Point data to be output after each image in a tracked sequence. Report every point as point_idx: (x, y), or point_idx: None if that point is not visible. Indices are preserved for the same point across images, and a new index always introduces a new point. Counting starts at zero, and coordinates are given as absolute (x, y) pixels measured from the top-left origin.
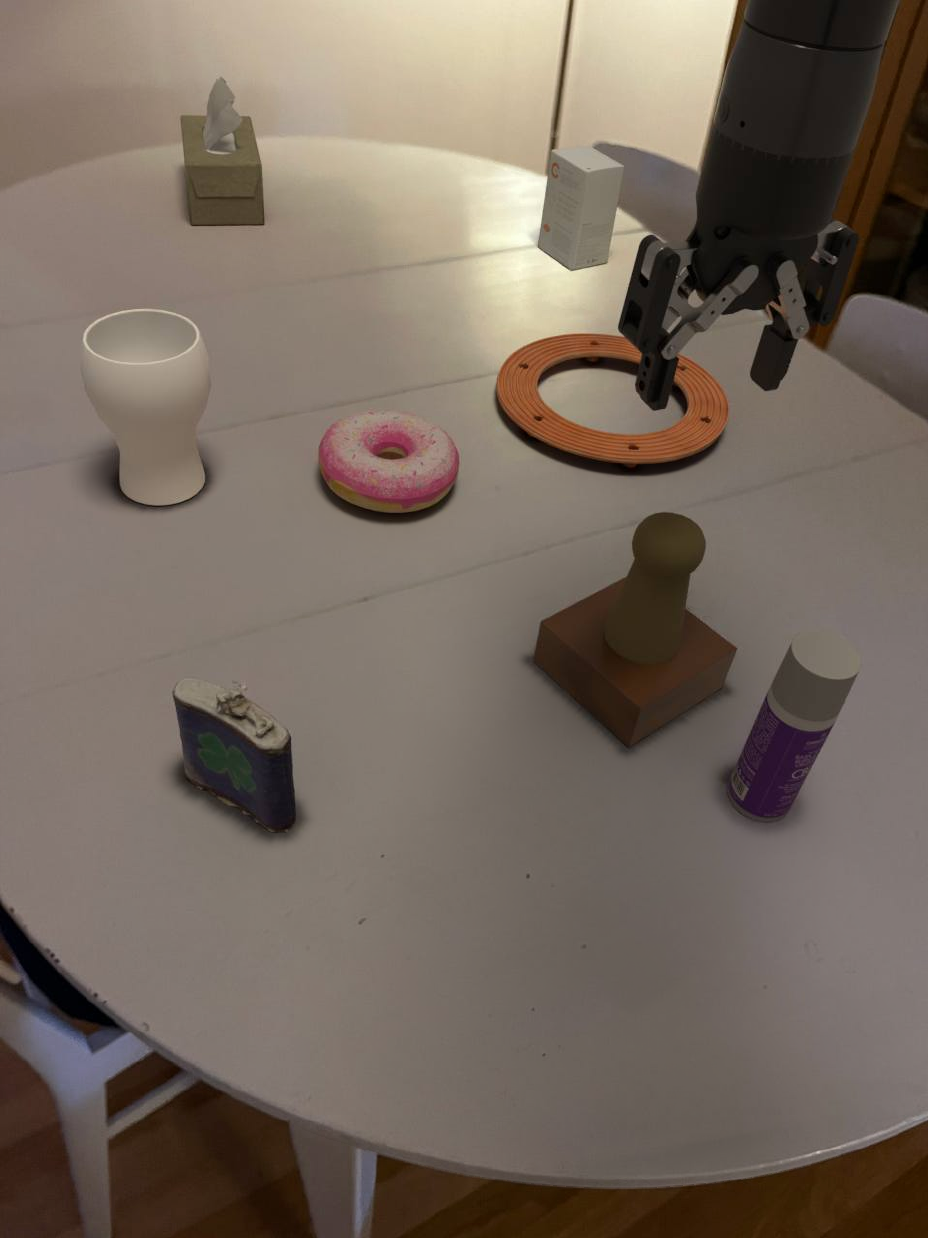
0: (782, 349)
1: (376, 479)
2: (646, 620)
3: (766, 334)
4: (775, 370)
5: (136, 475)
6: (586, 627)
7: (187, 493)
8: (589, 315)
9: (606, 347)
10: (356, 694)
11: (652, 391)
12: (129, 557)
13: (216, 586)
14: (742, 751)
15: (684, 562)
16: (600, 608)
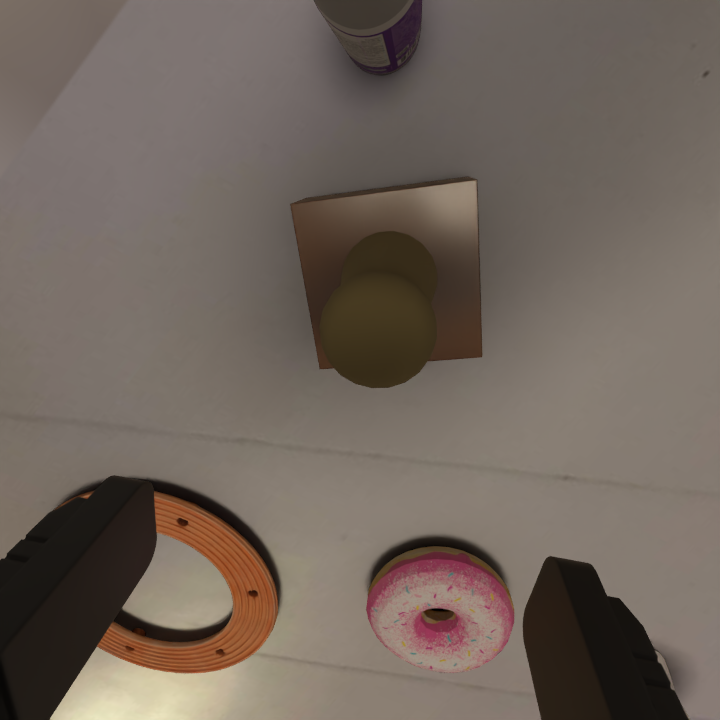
0: (33, 617)
1: (489, 597)
2: (421, 269)
3: (45, 701)
4: (99, 536)
5: (673, 687)
6: (440, 324)
7: None
8: (104, 675)
9: (121, 639)
10: (666, 381)
11: (628, 638)
12: (717, 609)
13: (677, 550)
14: (405, 48)
15: (394, 280)
16: None
